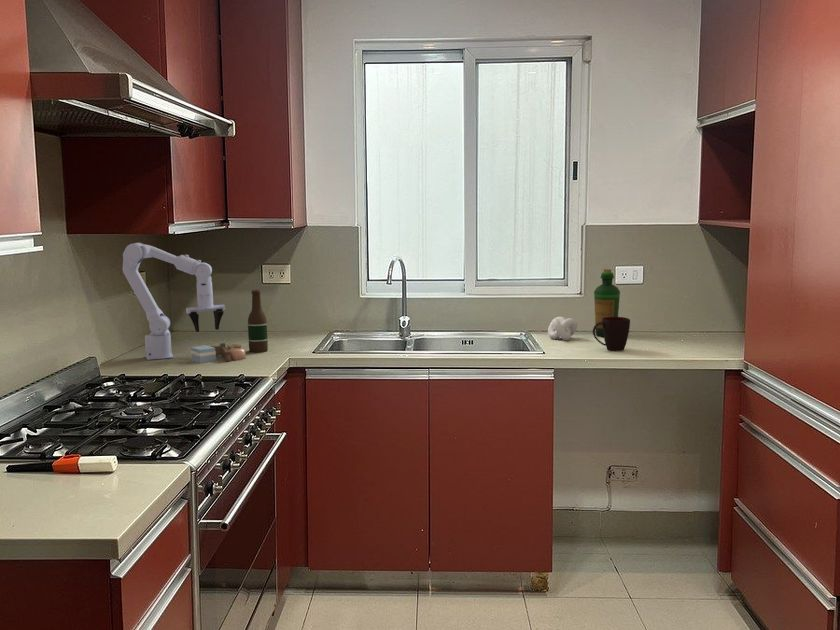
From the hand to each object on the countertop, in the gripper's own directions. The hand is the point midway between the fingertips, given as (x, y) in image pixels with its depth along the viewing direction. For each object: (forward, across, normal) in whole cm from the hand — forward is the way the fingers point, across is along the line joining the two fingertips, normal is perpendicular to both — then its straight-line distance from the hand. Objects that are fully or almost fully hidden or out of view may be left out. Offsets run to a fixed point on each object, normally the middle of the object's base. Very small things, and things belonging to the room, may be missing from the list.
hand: (207, 330), depth 306 cm
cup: (+12, +128, -84) cm, 154 cm away
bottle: (+12, +151, -60) cm, 163 cm away
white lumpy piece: (+12, +130, -54) cm, 142 cm away
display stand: (+10, -1, -8) cm, 13 cm away
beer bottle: (+10, +19, -3) cm, 22 cm away
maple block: (+10, +8, -6) cm, 14 cm away
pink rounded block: (+10, +6, -13) cm, 18 cm away
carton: (+10, -5, -8) cm, 14 cm away
